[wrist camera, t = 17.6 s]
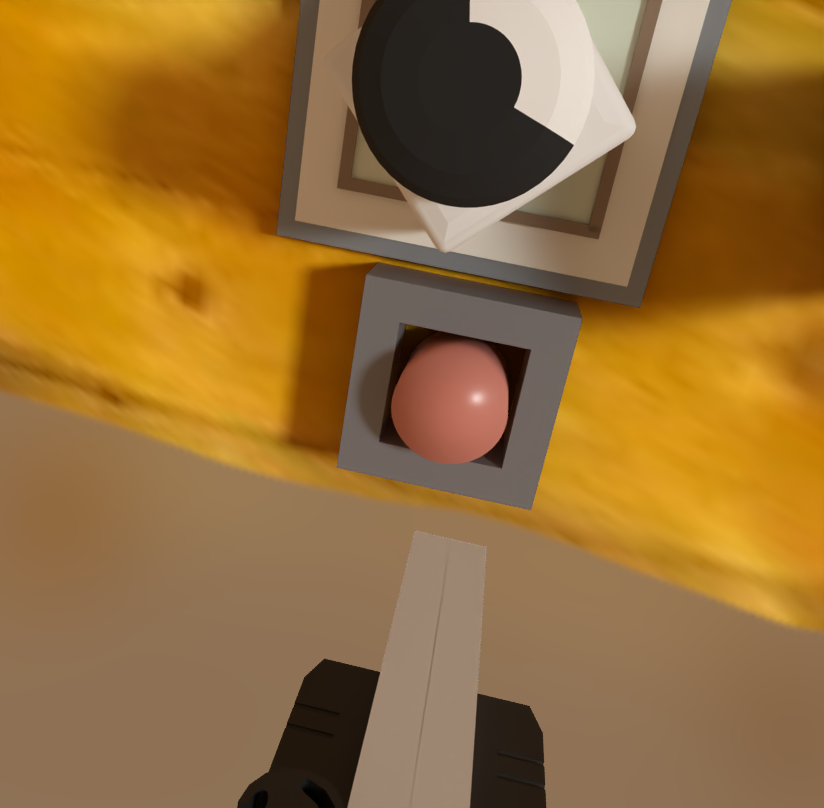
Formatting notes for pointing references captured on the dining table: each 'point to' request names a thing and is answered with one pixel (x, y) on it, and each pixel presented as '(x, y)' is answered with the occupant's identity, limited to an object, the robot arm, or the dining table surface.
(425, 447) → the button
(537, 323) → the button housing
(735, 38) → the dining table surface
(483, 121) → the medicine bottle
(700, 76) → the picture board
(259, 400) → the dining table surface
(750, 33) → the dining table surface
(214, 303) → the dining table surface
